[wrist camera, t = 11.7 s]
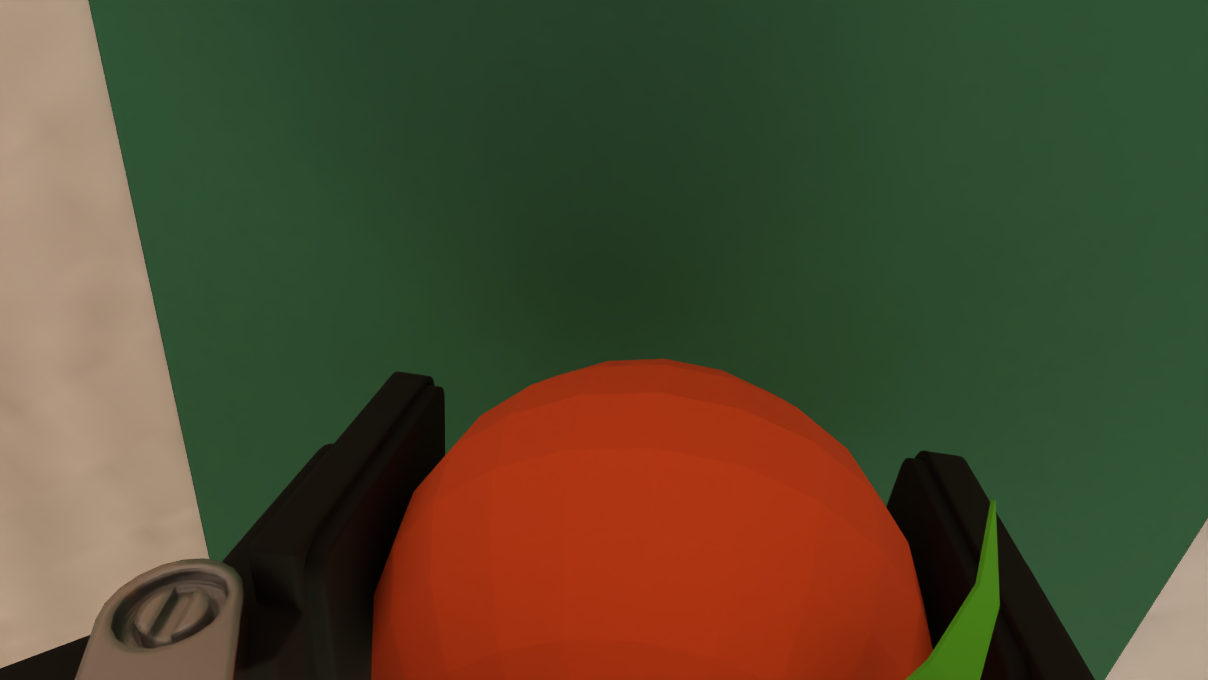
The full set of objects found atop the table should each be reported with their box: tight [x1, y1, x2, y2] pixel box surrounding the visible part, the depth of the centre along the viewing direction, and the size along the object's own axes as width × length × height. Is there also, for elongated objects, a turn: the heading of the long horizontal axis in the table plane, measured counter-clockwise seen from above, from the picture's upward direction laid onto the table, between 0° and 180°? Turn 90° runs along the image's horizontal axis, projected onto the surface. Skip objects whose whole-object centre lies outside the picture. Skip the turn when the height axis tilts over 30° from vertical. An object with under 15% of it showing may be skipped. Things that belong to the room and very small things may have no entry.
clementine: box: [371, 359, 1000, 680], centre depth 9 cm, size 8×7×7 cm
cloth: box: [88, 0, 1208, 680], centre depth 14 cm, size 22×22×1 cm
